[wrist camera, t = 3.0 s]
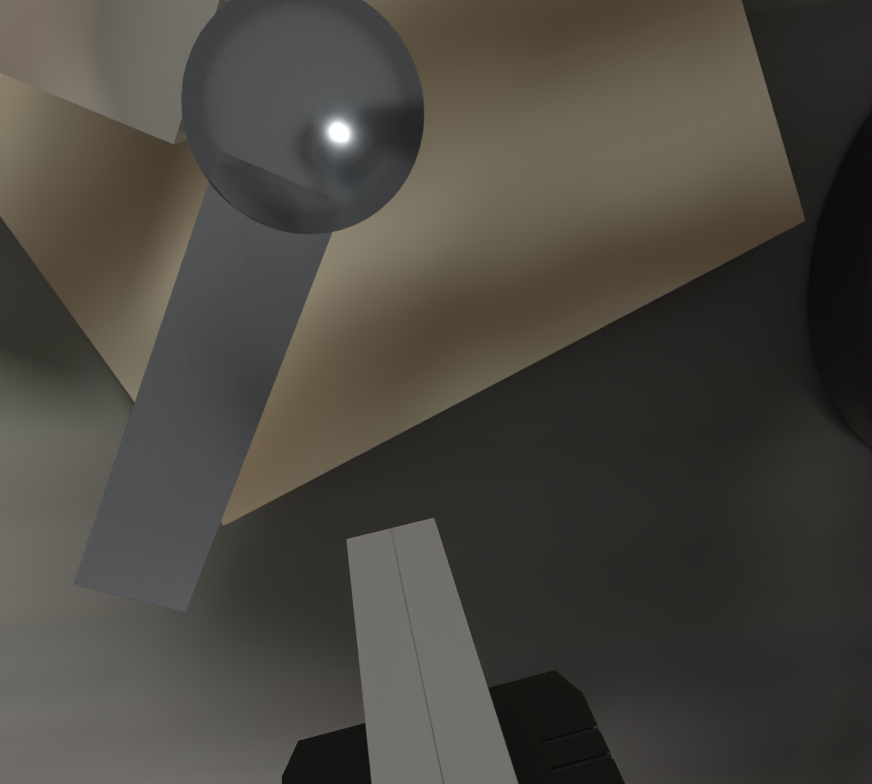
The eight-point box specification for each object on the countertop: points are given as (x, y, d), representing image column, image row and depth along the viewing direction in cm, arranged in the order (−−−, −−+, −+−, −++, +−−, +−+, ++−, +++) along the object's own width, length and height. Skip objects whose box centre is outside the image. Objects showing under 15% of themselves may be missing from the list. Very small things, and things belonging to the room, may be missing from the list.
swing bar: (241, -40, 13) (228, -69, 11) (436, 55, 14) (461, 48, 12) (66, 504, 16) (26, 573, 14) (238, 551, 17) (228, 623, 15)
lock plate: (773, 212, 21) (996, 267, 15) (229, 499, 22) (193, 684, 15) (567, -458, 16) (773, -894, 9) (-161, -53, 16) (-510, -166, 9)
